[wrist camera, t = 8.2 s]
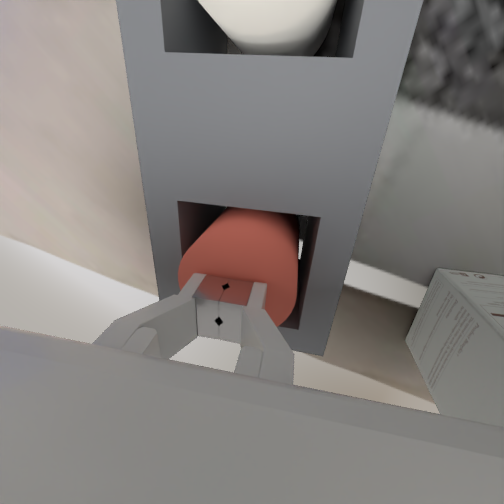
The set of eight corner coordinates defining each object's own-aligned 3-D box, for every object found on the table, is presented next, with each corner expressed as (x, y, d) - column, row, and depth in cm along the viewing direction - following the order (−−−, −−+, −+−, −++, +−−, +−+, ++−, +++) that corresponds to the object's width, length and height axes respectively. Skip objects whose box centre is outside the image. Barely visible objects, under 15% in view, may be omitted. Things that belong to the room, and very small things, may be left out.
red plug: (305, 196, 14) (306, 242, 9) (293, 269, 17) (288, 343, 11) (222, 187, 15) (173, 225, 9) (221, 258, 17) (182, 324, 12)
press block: (404, -125, 10) (583, -570, 4) (316, 278, 20) (323, 356, 13) (197, -112, 11) (53, -428, 5) (207, 262, 21) (163, 325, 14)
